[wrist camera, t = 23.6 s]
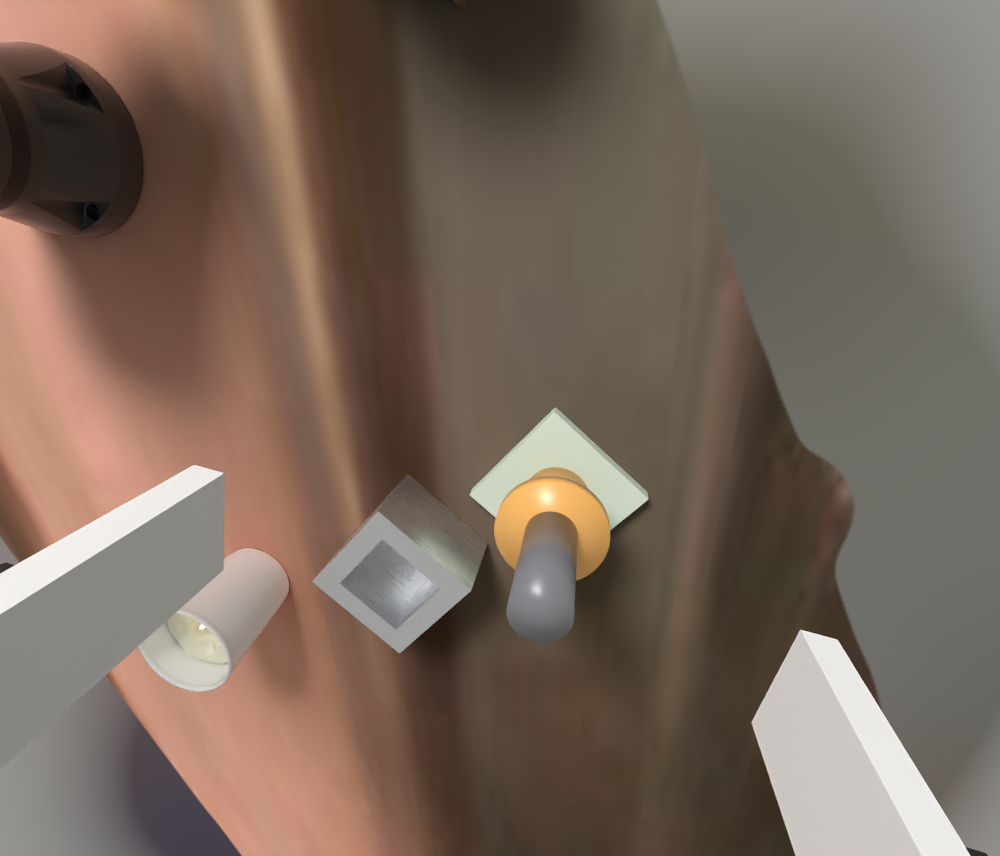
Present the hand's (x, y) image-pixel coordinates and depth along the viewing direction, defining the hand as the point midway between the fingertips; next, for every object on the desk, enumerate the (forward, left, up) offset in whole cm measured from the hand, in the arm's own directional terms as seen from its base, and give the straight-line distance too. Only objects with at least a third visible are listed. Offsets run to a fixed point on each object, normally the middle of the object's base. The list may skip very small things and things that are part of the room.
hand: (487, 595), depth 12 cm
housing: (-10, -25, -37) cm, 45 cm away
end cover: (+3, -15, -35) cm, 39 cm away
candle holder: (-28, -36, -37) cm, 59 cm away
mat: (+3, -15, -37) cm, 40 cm away
